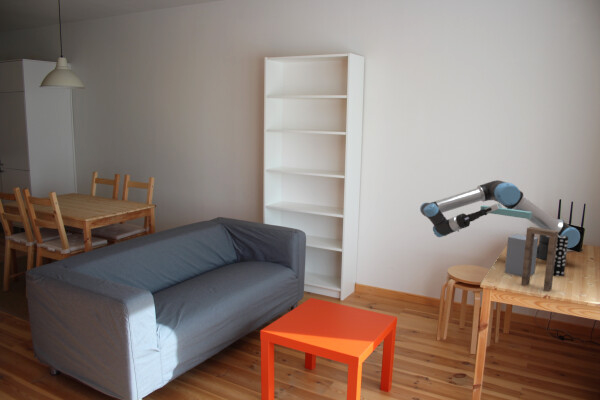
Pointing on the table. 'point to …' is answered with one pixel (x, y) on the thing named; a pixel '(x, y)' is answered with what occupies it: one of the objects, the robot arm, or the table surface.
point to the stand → (550, 256)
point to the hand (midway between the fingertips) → (499, 205)
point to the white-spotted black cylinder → (560, 255)
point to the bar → (510, 212)
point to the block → (518, 254)
